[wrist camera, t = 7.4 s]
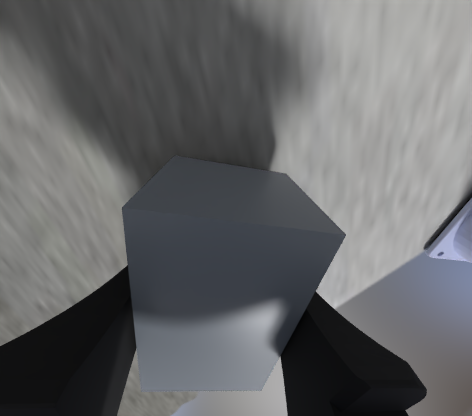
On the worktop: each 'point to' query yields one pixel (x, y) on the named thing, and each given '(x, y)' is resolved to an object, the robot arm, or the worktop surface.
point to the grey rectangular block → (220, 272)
